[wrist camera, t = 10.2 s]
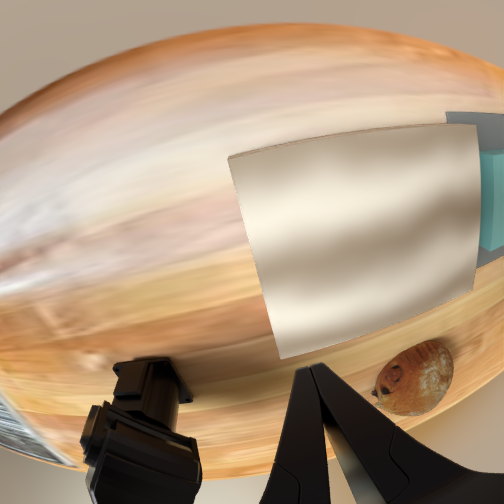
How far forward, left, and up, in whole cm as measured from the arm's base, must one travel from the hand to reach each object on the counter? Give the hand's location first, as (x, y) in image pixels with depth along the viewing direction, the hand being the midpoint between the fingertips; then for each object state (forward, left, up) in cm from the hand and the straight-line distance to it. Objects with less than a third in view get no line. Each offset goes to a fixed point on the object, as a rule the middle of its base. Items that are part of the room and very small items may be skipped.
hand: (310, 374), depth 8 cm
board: (-1, -8, -13) cm, 15 cm away
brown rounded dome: (-21, -13, -13) cm, 28 cm away
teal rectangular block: (-1, -23, -10) cm, 26 cm away
